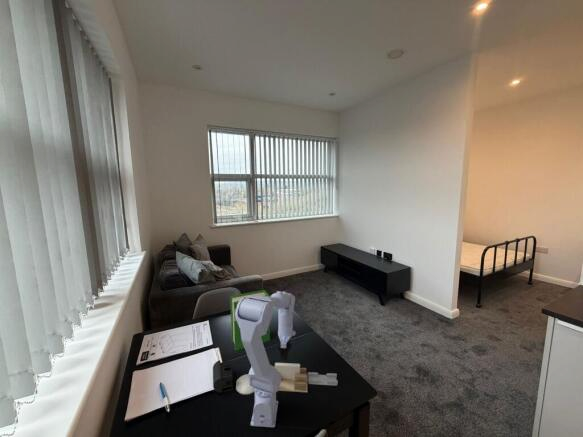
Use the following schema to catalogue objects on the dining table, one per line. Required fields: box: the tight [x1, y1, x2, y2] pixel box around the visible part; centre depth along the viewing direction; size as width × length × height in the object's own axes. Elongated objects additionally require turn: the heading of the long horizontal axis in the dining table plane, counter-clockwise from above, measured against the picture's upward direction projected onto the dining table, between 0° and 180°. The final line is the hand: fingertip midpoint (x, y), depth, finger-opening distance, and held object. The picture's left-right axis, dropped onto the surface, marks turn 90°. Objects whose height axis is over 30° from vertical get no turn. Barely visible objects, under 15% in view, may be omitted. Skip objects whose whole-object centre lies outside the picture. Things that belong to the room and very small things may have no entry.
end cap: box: [212, 359, 234, 394], centre depth 96 cm, size 10×7×7 cm
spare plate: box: [235, 373, 255, 395], centre depth 96 cm, size 9×9×1 cm
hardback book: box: [230, 289, 271, 352], centre depth 121 cm, size 18×7×24 cm, turn 116°
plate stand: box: [307, 371, 339, 386], centre depth 98 cm, size 5×12×2 cm, turn 86°
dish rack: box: [272, 365, 308, 393], centre depth 96 cm, size 9×16×4 cm, turn 86°
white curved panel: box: [274, 362, 301, 379], centre depth 98 cm, size 2×10×6 cm, turn 86°
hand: (285, 352), depth 99 cm, fingers open, 7 cm apart
